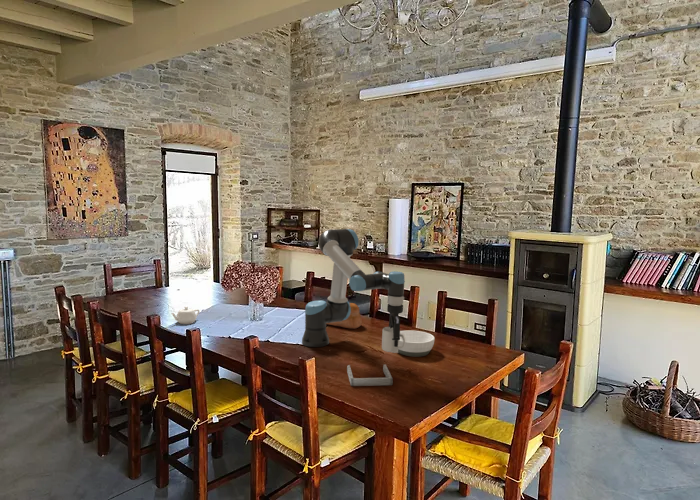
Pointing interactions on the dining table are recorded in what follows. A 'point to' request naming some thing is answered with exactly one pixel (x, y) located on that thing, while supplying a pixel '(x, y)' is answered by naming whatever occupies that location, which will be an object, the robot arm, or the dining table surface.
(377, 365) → the dining table surface
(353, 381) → the bracket
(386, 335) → the cup
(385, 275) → the robot arm
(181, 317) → the teapot
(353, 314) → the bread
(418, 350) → the bowl
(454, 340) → the dining table surface
